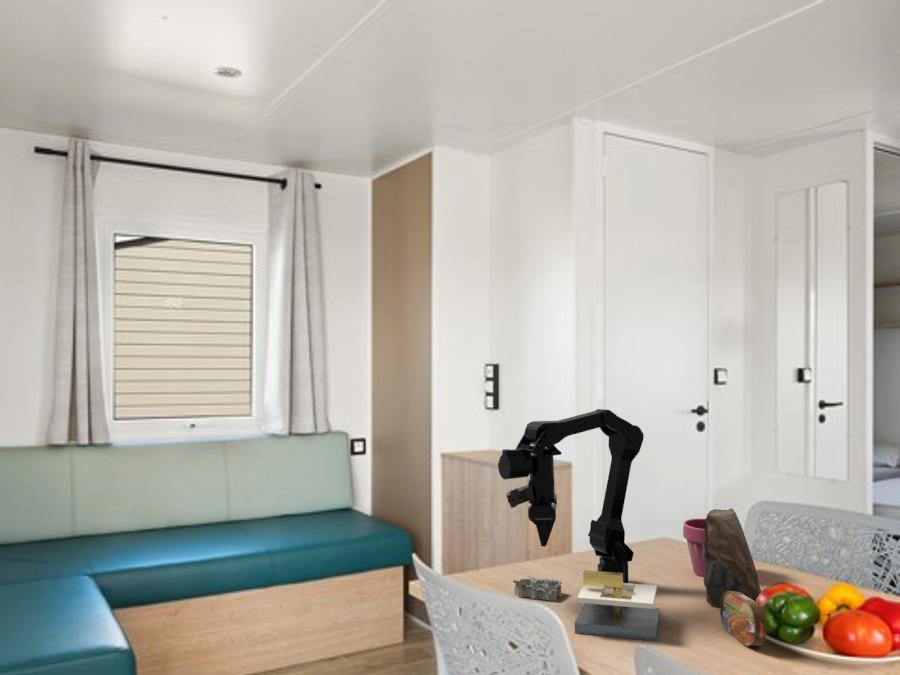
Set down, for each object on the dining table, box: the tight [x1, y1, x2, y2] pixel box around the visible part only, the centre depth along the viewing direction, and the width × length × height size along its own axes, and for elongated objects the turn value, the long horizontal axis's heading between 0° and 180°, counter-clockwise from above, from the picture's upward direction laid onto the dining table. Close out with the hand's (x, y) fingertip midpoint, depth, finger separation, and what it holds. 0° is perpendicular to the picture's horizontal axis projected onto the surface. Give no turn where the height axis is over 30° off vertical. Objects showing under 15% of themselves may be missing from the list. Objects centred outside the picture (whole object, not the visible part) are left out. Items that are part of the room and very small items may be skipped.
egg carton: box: [512, 576, 563, 601], centre depth 182 cm, size 11×8×4 cm
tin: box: [719, 591, 767, 647], centre depth 152 cm, size 15×3×8 cm, turn 5°
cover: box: [576, 582, 658, 609], centre depth 161 cm, size 15×13×1 cm
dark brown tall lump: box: [703, 507, 762, 609], centre depth 177 cm, size 13×13×20 cm
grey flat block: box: [574, 603, 661, 641], centre depth 160 cm, size 16×14×2 cm
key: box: [582, 569, 632, 616], centre depth 161 cm, size 11×2×8 cm, turn 72°
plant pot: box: [682, 518, 706, 578], centre depth 198 cm, size 14×14×13 cm
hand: (544, 541), depth 182 cm, fingers open, 9 cm apart
